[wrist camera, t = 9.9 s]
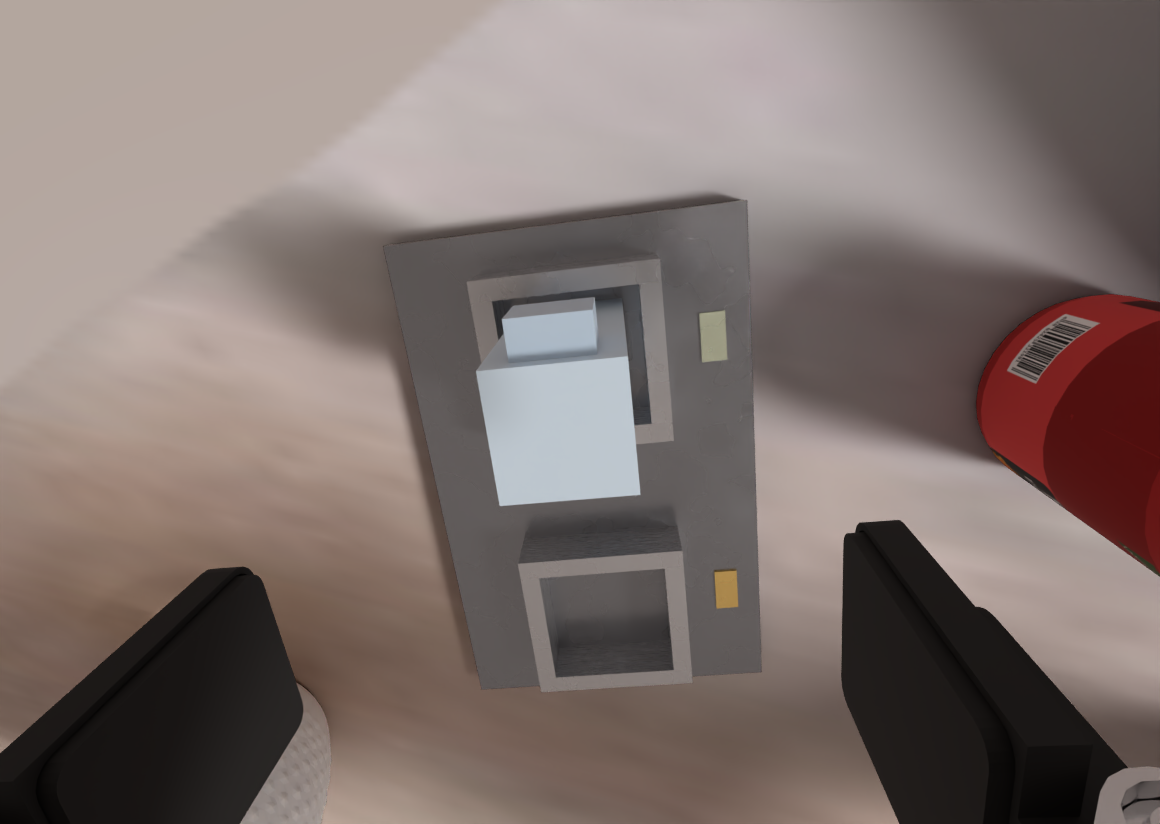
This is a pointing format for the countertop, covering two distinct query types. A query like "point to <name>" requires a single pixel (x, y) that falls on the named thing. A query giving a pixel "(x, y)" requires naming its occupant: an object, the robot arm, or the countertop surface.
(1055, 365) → the canned food
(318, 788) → the mug
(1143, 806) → the robot arm
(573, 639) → the panel
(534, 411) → the plug
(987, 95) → the countertop surface
